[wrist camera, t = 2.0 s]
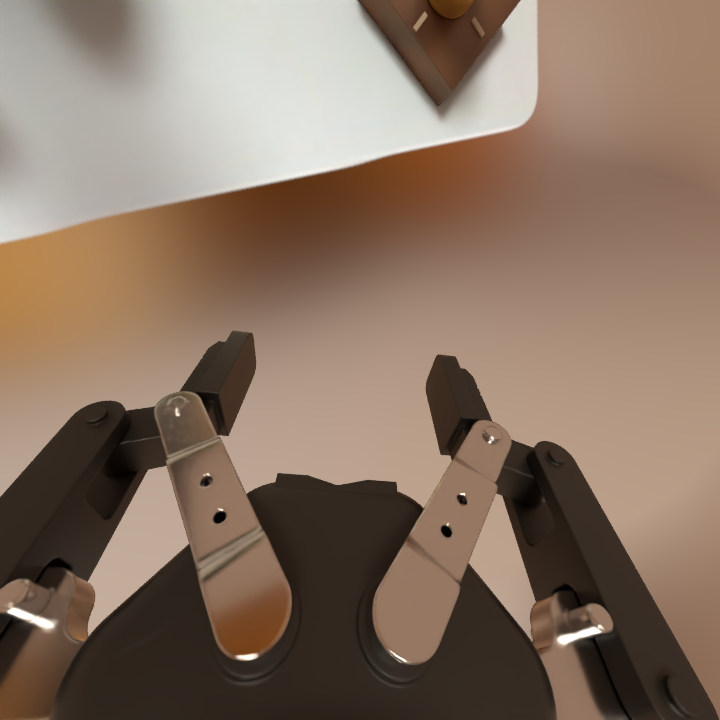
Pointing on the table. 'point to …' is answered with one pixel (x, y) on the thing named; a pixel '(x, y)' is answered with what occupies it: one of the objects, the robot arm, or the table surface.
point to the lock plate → (439, 38)
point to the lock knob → (451, 7)
